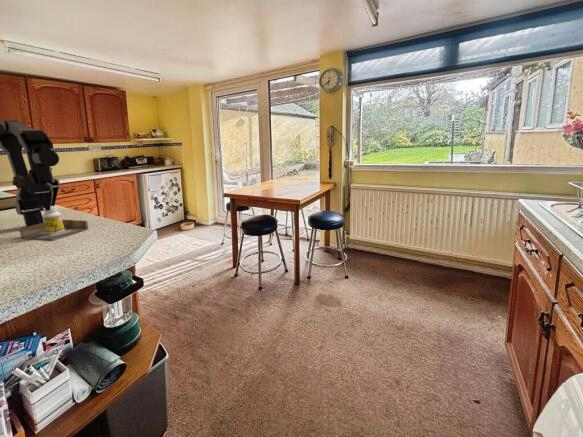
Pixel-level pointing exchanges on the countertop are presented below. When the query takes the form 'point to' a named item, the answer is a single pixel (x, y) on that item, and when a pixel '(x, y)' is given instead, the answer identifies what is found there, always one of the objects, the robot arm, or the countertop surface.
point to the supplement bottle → (53, 221)
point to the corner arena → (41, 234)
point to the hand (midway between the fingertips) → (50, 208)
